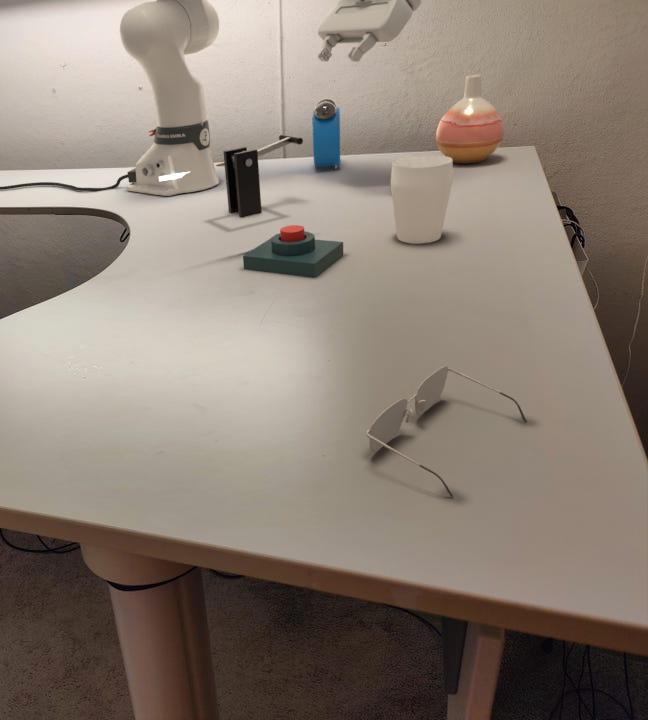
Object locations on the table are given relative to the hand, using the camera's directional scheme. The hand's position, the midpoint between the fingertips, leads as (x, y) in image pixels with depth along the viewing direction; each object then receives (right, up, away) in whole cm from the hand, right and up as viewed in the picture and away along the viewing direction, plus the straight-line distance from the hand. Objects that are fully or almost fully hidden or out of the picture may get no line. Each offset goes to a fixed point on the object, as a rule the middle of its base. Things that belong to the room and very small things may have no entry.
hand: (336, 59), depth 122 cm
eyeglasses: (-4, -63, -64) cm, 90 cm away
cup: (+9, -36, -16) cm, 41 cm away
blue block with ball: (+6, -9, +36) cm, 38 cm away
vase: (+35, -11, +25) cm, 44 cm away
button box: (-11, -40, -20) cm, 46 cm away
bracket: (-17, -28, +5) cm, 33 cm away
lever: (-13, -18, +1) cm, 22 cm away
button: (-11, -37, -21) cm, 44 cm away
